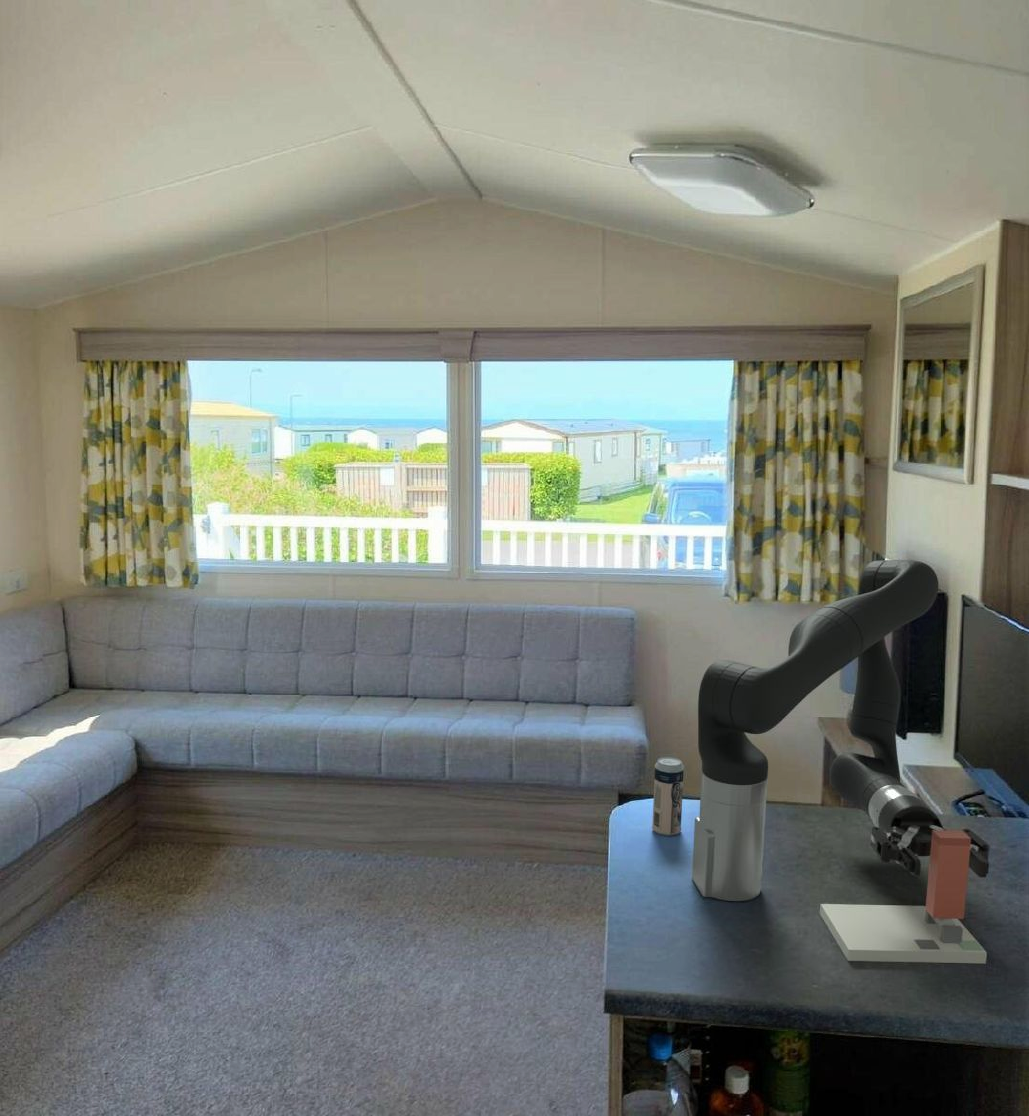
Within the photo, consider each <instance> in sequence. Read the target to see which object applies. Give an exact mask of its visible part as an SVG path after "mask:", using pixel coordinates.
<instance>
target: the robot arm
mask: <svg viewBox="0 0 1029 1116" xmlns="http://www.w3.org/2000/svg"><path fill="white" fill-rule="evenodd" d="M859 579H860V580H859V583H858V591H857V593H858V594H857V595H854V596H850V597H847V598H842V599H839V600H836V601H834V602H831V603H828V604H825V605H824V606H821V607H820V608H818V609H817V610H814V611H813V612H812V613H811V614H809V615H807V616H806V617H804V618H803V619H802V620H801V621H800V622H798V623H797V624H796V625H795V627H794V628H793V630H792V632H791V635H790V637H789V642H788V651H787V652H788V653H787V655H788V656H787V657H786V658H785V659H783V660H782V661H781V662H778V664H776V665H774V666H773V665H772V666H770V667H766V668H761V667H758V666H752V665H749V664H745V663H741V662H737V661H733V660H729V659H728V660H727V659H720V660H716V661H714V662H713V663H711V664H710V665H709V667H707V669H706V670H705V672H704V673H703V676H702V679H701V680H700V681H701V682H700V686H699V690H698V700H697V724H698V725H697V726H698V727H697V728H698V729H697V730H698V731H697V733H698V734H697V737H698V739H697V748H698V753H699V756H700V759H701V781H700V782H701V783H700V799H699V800H700V801H699V816H696V817H695V818H694V831H693V848H692V849H693V850H692V851H693V852H692V867H691V869H692V871H691V872H692V873H691V880H692V881H693V883H694V884H695V886H696V887H697V889H698V890H699V892H700V894H701V895H702V897H703V898H714V899H717V900H722V901H725V902H726V901H727V902H728V901H729V902H744V901H750V900H753V899H755V898H757V897H758V896H759V895H760V893H761V891H762V890H761V888H762V881H763V880H762V879H763V873H762V872H763V858H764V857H763V856H764V844H765V843H764V842H765V841H764V840H765V827H766V826H765V825H766V824H765V823H766V809H767V808H766V807H767V806H766V805H767V791H768V790H767V789H768V775H769V760H768V758H767V756H766V755H765V753H763V751H762V750H760V749H759V748H758V747H757V746H756V745H754V743H753V742H752V741H751V740H750V739H749V738H748V736H747V735H746V734H749V735H750V734H751V735H760V734H761V735H762V734H765V733H767V732H769V731H771V730H772V729H774V728H776V726H778V725H779V724H780V723H781V722H782V721H783V720H784V719H785V718H786V717H787V716H788V715H789V714H790V713H791V712H792V711H793V710H795V708H796V707H797V706H798V705H799V704H800V703H801V702H802V701H803V700H805V699H806V697H807V696H809V695H810V693H812V692H813V691H814V690H816V689H817V688H818V687H819V686H821V685H822V684H823V683H825V681H826V680H828V679H829V678H830V677H832V676H833V675H834V674H836V673H837V672H839V671H840V670H842V669H844V668H845V667H847V666H848V665H849V664H851V662H853V661H854V660H856V659H857V671H856V672H857V674H856V682H855V683H856V684H855V691H854V697H853V702H852V709H851V715H850V722H849V731H850V734H851V735H852V736H853V737H855V738H857V739H859V740H861V741H863V742H865V743H867V744H868V745H869V746H870V747H871V749H872V751H873V756H874V757H873V756H869V755H865V754H861V753H855V752H844V753H841V754H839V755H838V756H836V757H835V759H833V761H832V763H831V764H830V768H829V781H830V784H831V786H832V788H833V790H834V791H835V793H836V794H837V795H838V796H839V797H840V798H841V799H843V801H844V800H845V801H846V802H847V803H849V804H850V805H853V806H854V807H855V808H858V809H859V810H861V811H862V812H864V813H865V814H866V815H867V816H868V817H869V818H870V820H871V821H872V823H873V826H872V827H871V833H870V846H871V847H872V850H873V851H874V852H875V854H876V855H877V857H878V858H879V860H880V861H881V862H883V863H889V862H891V860H892V861H895V864H898V865H901V867H902V868H903V869H904V870H905V871H906V872H907V873H910V874H911V875H912V876H913V877H920V875H921V865H922V864H921V859H919V857H930V852H931V840H932V830H947V829H945V828H944V827H943V824H942V822H941V820H940V818H939V817H938V815H937V813H936V812H935V811H933V810H932V809H931V808H930V806H928V805H927V804H926V803H925V802H924V801H923V800H922V799H921V798H920V797H919V796H918V795H916V793H914V792H913V791H911V790H909V789H908V788H907V787H906V786H905V785H904V784H903V783H902V782H901V772H900V764H899V759H898V748H897V739H896V738H897V734H896V732H897V724H898V719H899V712H900V705H901V695H902V694H901V685H900V681H899V677H898V675H897V671H896V670H895V667H894V665H893V662H892V661H891V658H890V654H889V652H888V648H887V645H886V640H885V637H886V636H888V635H890V633H892V632H894V631H895V630H897V629H899V628H901V627H903V626H904V625H906V624H909V623H910V622H912V621H914V620H916V619H918V618H920V617H922V616H924V615H925V614H926V613H927V612H928V611H929V610H930V609H931V608H932V607H933V604H935V601H936V599H937V596H938V592H939V584H940V583H939V578H938V576H937V573H936V572H935V570H934V569H933V568H932V567H931V565H929V564H927V563H925V562H922V561H918V560H914V559H890V560H889V559H887V560H885V559H884V560H881V559H880V560H879V559H878V560H873V561H870V562H869V563H868V564H866V566H865V567H864V568H863V570H862V572H861V574H860V578H859ZM961 831H964V832H965V833H966V834H967V835H968V836H969V837H970V838H971V845H970V856H969V867H968V868H970V870H972V871H973V873H975V874H976V876H978V878H986V877H987V875H989V867H990V862H989V854H990V849H991V848H990V847H991V846H990V845H989V844H988V843H987V842H986V841H985V840H984V839H982V838H981V837H980V836H978V835H977V834H976V833H975V832H974V831H973V830H971V829H970V828H969V829H968V828H962V829H961Z"/></svg>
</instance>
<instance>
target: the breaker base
mask: <svg viewBox="0 0 1029 1116" xmlns="http://www.w3.org/2000/svg"><path fill="white" fill-rule="evenodd" d="M819 908H820V909H819V915H820V917H821V919H822V921H824V923H825V925H826V928H828V930H829V932H830V933H831V935H832V937H833V938H834V940H835V942H836V943H837V945H838V947H839V948H840V950H841V951H842V953H843V955H844V956H845V959H846V960H847V961H848V962H849V961H850V962H885V963H886V962H888V963H889V962H890V963H891V962H893V963H896V962H897V963H935V964H937V963H941V964H942V963H943V964H946V963H947V964H948V963H949V964H984V965H985V964H987V954H988V952H987V951H986V950H985V949H984V947H983V946H982V945H981V944H980V943H979V941H978V940H977V939H976V938H975V937H974V936H973V935H972V934H971V933H970V931H969V930H968V929H967V928H966V927H965V925H963V923H962V921H960V919H951V920H952V921H953V922H954V923H955V925H956V926H945V925H942V926H941V928H940V927H939V926H938V924H937V923H936V922H935V921H934V919H933V918H932V917H931V915H930V914H929V913H928V912H927V910H926V905H894V904H893V905H891V904H889V905H887V904H885V905H884V904H846V903H845V904H841V903H836V904H835V903H820V907H819Z"/></svg>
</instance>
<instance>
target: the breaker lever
mask: <svg viewBox="0 0 1029 1116" xmlns="http://www.w3.org/2000/svg"><path fill="white" fill-rule="evenodd" d="M970 845H971V838H970V837H969V836H968V835H967V834H966V833H965V832H964V831H962V830H948V829H946V830H932V840H931V852H930V856H929V863H928V864H929V865H928V866H929V867H928V876H927V888H926V889H927V890H926V898H925V899H926V900H925V906H926V910H927V912H928V913H929V914H930V915H931V917H932V918H933V919H934V921H935V922H936V923H937V924H938V926H939V927H940V928H941V926H942V925H945V926H956V925H955V923H954V922H953V921H952V920H951V919H958V920H960V919H961V920H962V919H964V918H965V909H966V897H967V888H968V887H967V886H968V875H969V868H970V867H969V856H970Z"/></svg>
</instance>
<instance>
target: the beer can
mask: <svg viewBox="0 0 1029 1116" xmlns="http://www.w3.org/2000/svg"><path fill="white" fill-rule="evenodd" d="M684 770H685V766H684V764H683V761H682V760H680V759H679V758H677V757H669V756H668V757H666V756H665V757H664V756H663V757H660V758H658V760H657V762H656V763H655V765H654V785H653V805H652V806H653V808H652V809H653V810H652V827H651V829H652V830H653V831H654V832H655V833H657V834H659V835H661V836H665V837H666V836H667V837H671V836H675V834H676V835H677V834H679V833H681V832H682V816H683V815H682V813H683V812H682V811H683V793H684V791H683V790H684Z"/></svg>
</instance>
